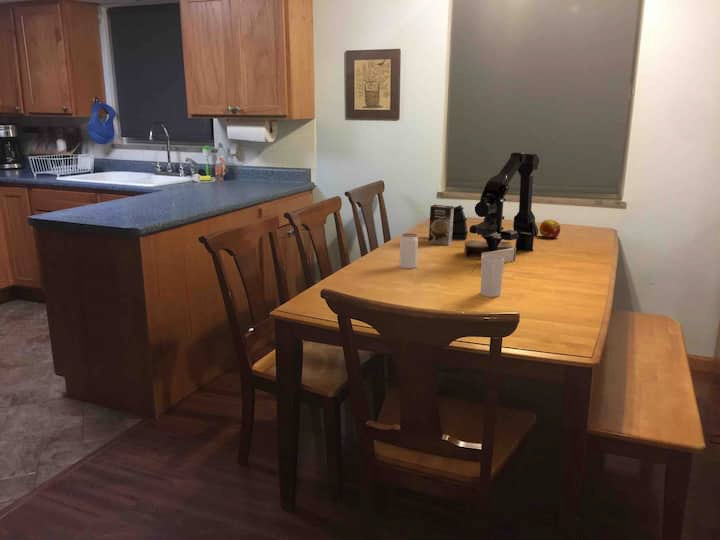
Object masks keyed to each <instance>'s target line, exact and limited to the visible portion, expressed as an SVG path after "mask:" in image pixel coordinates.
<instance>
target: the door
mask: <svg viewBox="0 0 720 540" xmlns="http://www.w3.org/2000/svg"><path fill="white" fill-rule="evenodd" d="M516 253H517V248H516V247H513V248H510V249H504V250H497V251H490V252H484V253H482V254H481V259H480V267H482V256H485V255H497V256H501V257H504V264H505V263H510V262H511V261H512V262H516V255H517V254H516Z"/></svg>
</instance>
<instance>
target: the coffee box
mask: <svg viewBox="0 0 720 540" xmlns="http://www.w3.org/2000/svg"><path fill="white" fill-rule="evenodd" d="M454 208H455V206H453V205H441V204H433V205H430V211H429V213H430V214H429V227H428V228H429V229H428V231H429V232H428V244H432V243H433V244H434V245H443V246H450V244H452V243H453V240H452V229H453V215H454Z"/></svg>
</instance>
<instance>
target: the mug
mask: <svg viewBox="0 0 720 540" xmlns="http://www.w3.org/2000/svg"><path fill="white" fill-rule="evenodd" d="M504 264H505V263H504V257H501V256H497V255H485V256H482V266H481V274H480V291H479V292H480V294H481V296H484V297H489V298H496V297H500V296H501V294H502V293H501V292H502V284H503V274H504Z"/></svg>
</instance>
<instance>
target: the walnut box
mask: <svg viewBox="0 0 720 540" xmlns="http://www.w3.org/2000/svg"><path fill="white" fill-rule="evenodd" d="M510 248H514V247H513V245H512V243H511V241H501V242H500V243H499V245H498V247H497V248H496V250H495V251H497V250H504V249H510ZM484 252H489V248H488V245H487V242H486V240H476V239H475V240H473V239H466V240H464V258H465V259H476V260H477V259H478V260H479V259H480V260H481V254H482V253H484Z"/></svg>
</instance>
